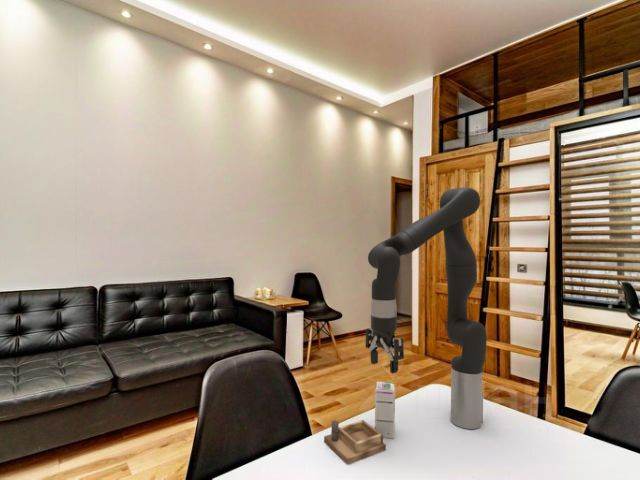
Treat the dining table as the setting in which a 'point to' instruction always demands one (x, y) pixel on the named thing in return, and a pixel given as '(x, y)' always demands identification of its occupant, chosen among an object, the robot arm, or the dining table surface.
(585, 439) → the dining table surface
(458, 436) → the dining table surface
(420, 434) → the dining table surface
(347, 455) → the board
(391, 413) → the syrup box
